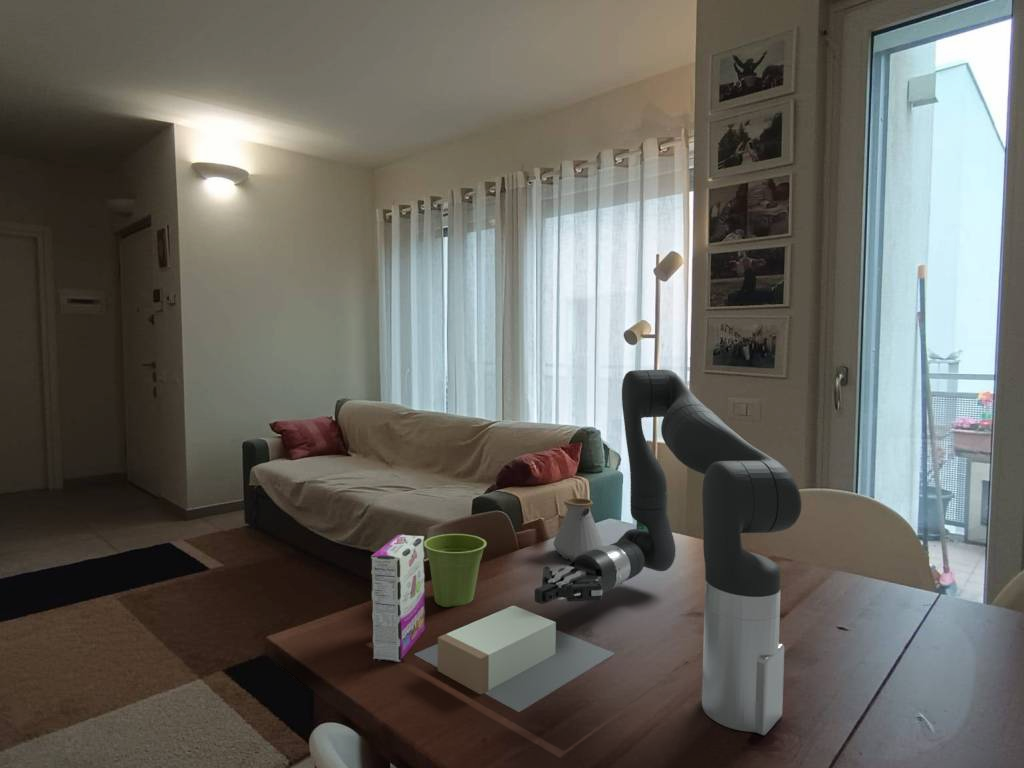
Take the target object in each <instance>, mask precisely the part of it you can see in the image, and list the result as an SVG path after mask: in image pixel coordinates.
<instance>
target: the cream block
mask: <svg viewBox="0 0 1024 768" xmlns="http://www.w3.org/2000/svg"><path fill="white" fill-rule="evenodd" d="M556 627H557V623H556V621H554V620H552V619H548V618H546V617H543V616H541V615H538V614H536V613H534V612H531V611H528V610H526V609H523V608H520V607H519V606H516V605H511V606H508V607H506V608H504V609H501V610H499V611H497V612H495V613H492V614H490V615H488V616H485V617H483V618H480V619H478V620H476V621H473V622H471V623H469V624H466V625H464V626H462V627H459V628H457V629H454V630H452V631H450V632H447V633H445V634H442V635H440V636H437V644H438V668H437V672H439V673H441V674H442V675H444V676H446V677H448V678H450V679H451V680H454V681H455V682H457V683H459V684H461V685H462V686H464V687H465V688H468V689H470V690H471V691H473V692H475V693H476V694H479V695H480V696H481V695H483V694H484V693H485V692H486V691H488V690H490V689H492V688H494V687H496V686H497V685H499V684H501V683H503V682H505V681H507V680H508V679H510V678H512V677H514V676H516V675H518V674H519V673H521V672H523V671H525V670H527V669H529V668H530V667H532V666H534V665H536V664H538V663H540V662H541V661H543V660H545V659H547V658H549V657H551V656H552V655H554V654H555V645H556V630H557V629H556Z"/></svg>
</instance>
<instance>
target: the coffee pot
mask: <svg viewBox="0 0 1024 768" xmlns="http://www.w3.org/2000/svg"><path fill="white" fill-rule="evenodd" d="M563 504H564V505H565V507H566V509H567V511H566V513H565V516H564V518H563V520H562V522H561V525H560V526H559V528H558V531H557V534H556V535H555V538H554V541H553V547H554V549H555V550H556V552H557V553H558V554H560V555H562V556H561V557H562V558H563V557H564V558H563V559H565V558H566V560H568V559H570V560H569V561H572V560H573V559H574V558H575V557H577V556H578V555H581V554H583V553H586V552H589V551H591V550H594V549H596V548H599V547H602V546H604V542H603V540H602V538H601V535H600V533H599V530H598V528H597V525H596V522H595V520H594V517H593V511H592V510H591V506H592V505H593V504H594V501H593V500H592V499H588V498H583V497H582V498H580V497H578V498H577V497H576V498H575V497H573V498H568V499H566V500H564V501H563Z"/></svg>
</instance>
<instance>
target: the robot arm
mask: <svg viewBox="0 0 1024 768" xmlns="http://www.w3.org/2000/svg"><path fill="white" fill-rule="evenodd" d="M621 405H622V406H621V407H622V415H623V422H624V433H625V440H626V441H625V442H626V448H627V455H628V456H627V457H628V463H629V475H630V476H629V477H630V496H629V497H630V505H629V506H630V516H631V518H633V520H635V521H636V522H637V521H638V522H640V523H641V524H643V525H644V526H646V528H647V529H648V531H646V530H642V529H636V528H632V529H629V530H627V531H625V532H624V534H622V536H621V537H620V538H619V539H618V540H617V541H616V542H614V543H611V544H608V545H605V546H604V545H603V546H602V547H599V548H596V549H594V550H591V551H589V552H586V553H583V554H581V555H578V556H577V557H575V558H574V559H573V561H572V560H571V562H570V564H569V565H568V566H567V567H561V568H559V569H558V570H557V571H554V570H553V569H551V567H550V566H547V565H546V566H543V567H542V568H543V569H542V575H541V576H542V577H541V580H542V581H541V586H539V587H536V588H535V589H534V602H535V603H538V604H540V605H545V604H547V603H550V602H553V601H555V600H557V601H558V600H559V601H560V600H564V599H566V602H569V603H570V602H573V603H574V602H586V601H587V602H588V601H589V602H591V601H601V600H603V594H605V593H606V592H609V591H611V590H612V589H615V588H616V587H619V586H620V585H621V584H623V583H624V582H626V581H629V580H631V579H633V578H634V577H636V576H638V575H640V574H641V572H642V571H643V570H644V568H646V569H648V570H649V569H650V570H653V571H656V572H665V571H668V570H669V569H670V568H671V567H672V565H673V564H674V562H675V560H676V559H675V558H676V552H677V551H676V550H677V549H676V544H675V539H674V536H673V531H672V528H671V524H670V521H669V520H670V519H669V517H668V501H667V494H668V491H667V490H668V486H667V485H668V483H667V479H666V478H667V477H666V475H665V471H664V469H663V467H662V465H661V463H660V462H659V460H658V459H657V457H656V455H655V454H654V453H653V451H652V449H651V448H650V445H649V444H648V442H647V440H646V438H645V435H644V430H643V425H642V419H644V418H663V419H662V421H661V426H660V427H661V428H660V431H661V437H662V440H663V441H664V443H665V445H666V446H667V448H668V449H669V451H670V452H671V453H672V454H673V455H674V456H675V457H676V459H677V460H678V461H679V462H680V463H682V464H683V465H685V466H686V467H687V468H689V469H691V470H693V471H694V472H695V471H696V472H697V473H700V474H703V475H704V477H703V481H702V492H701V493H702V499H701V500H702V520H703V521H702V525H703V532H702V533H703V538H702V539H703V540H702V541H703V546H702V547H703V558H704V568H705V569H704V570H705V573H704V574H705V578H704V580H705V581H704V583H705V584H704V606H703V608H704V609H703V611H704V613H703V614H704V616H703V617H704V618H703V620H704V621H703V651H702V652H703V653H702V657H703V658H702V686H701V694H702V695H701V707H702V709H703V712H704V713H705V714H706V715H707V716H708V717H709V718H710V719H712V720H713V721H714V722H716V723H717V724H719V725H722V726H723V727H726V728H729V729H731V730H732V729H733V730H737V731H741V732H752V733H757V734H759V735H761V736H766V735H767V733H769V731H770V730H771V729H772V728H773V727H774V725H775V724H776V723H778V721H779V720H780V719H781V718H782V716H783V705H784V704H783V702H784V701H783V700H784V699H783V698H784V671H785V668H784V667H785V645H784V644H783V643H780V642H779V640H780V616H781V615H780V613H781V611H780V610H781V586H782V575H781V574H782V573H781V569H780V567H779V565H778V564H777V563H776V562H774V561H773V560H771V559H770V558H767V557H765V556H763V555H762V554H758V553H755V552H751V551H749V550H747V549H744V548H743V545H742V534H765V533H766V534H767V533H769V534H770V533H771V534H772V533H776V532H778V533H779V532H782V531H785V530H788V529H790V528H791V527H793V526H794V525H795V524H796V523H797V521H798V519H799V518H800V516H801V512H802V497H801V493H800V489H799V488H798V485H797V483H796V480H795V479H794V477H793V475H792V474H791V473H790V472H789V470H788V469H787V467H785V466H784V465H783V464H782V463H781V462H779V461H777V460H776V459H774V458H772V457H771V456H770V455H768V454H767V453H765V452H763V451H762V450H759V449H758V448H756V447H755V446H754V445H752V444H750V443H749V442H747V441H746V440H745V439H744V438H742V436H740V435H739V434H738V433H736V432H735V431H734V430H733V429H732V428H731V427H729V426H728V425H727V424H725V422H724V421H723V420H722V419H721V418H720V417H719V416H718V415H717V414H715V412H713V411H712V410H711V409H710V408H709V407H707V405H704V403H702V402H701V401H700V399H698V397H696V396H695V395H694V393H692V391H691V390H690V389H689V387H688V386H687V385H686V383H685V381H683V380H682V378H681V377H680V375H678V374H677V373H676V372H675V371H672V370H669V369H642V370H641V369H639V370H638V369H637V370H629V371H628V372H627V373H625V375H624V377H623V379H622V386H621Z"/></svg>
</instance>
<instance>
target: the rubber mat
mask: <svg viewBox="0 0 1024 768" xmlns="http://www.w3.org/2000/svg"><path fill="white" fill-rule="evenodd" d="M615 654H616V653H615V652H613V651H611V650H608V649H605V648H604V647H600V646H598V645H595V644H593V643H592V642H588V641H585V640H583V639H580V638H578V637H575V636H573V635H570V634H568V633H565V632H563V631H561V630H558V629H556V645H555V654H554V655H552V656H551V657H549V658H547V659H545V660H543V661H541V662H540V663H538V664H536V665H534V666H532V667H530V668H529V669H527V670H525V671H523V672H521V673H519V674H518V675H516V676H514V677H512V678H510V679H508V680H507V681H505V682H503V683H501V684H499V685H497V686H496V687H494V688H492V689H490V690H488V691H486V692H485V693H483V694H485V695H486V696H488V697H490V698H491V699H493V700H495V701H497V702H499V703H501V704H503V705H505V706H507V707H508V708H510V709H511V710H514V711H516V712H518V713H520V712H522V711H524V710H525V709H527V708H529V707H530V706H532V705H534V704H535V703H537V702H538V701H540V700H542V699H544V698H545V697H546V696H548V695H551V694H552V693H554V692H555V691H557V690H559V688H562V687H563V686H565V685H566V684H569V683H570V682H571V681H573V680H575V679H576V678H578V677H579V676H581V675H582V674H584V673H586V672H587V671H589V670H591V669H592V668H594V667H596V666H597V665H598V664H600V663H603V662H604V661H605V660H607V659H609V658H611V657H612V656H613V655H615ZM413 656H415V657H417V658H419V659H421V660H422V661H424V662H427V663H428V664H430V665H431V666H433V667H436V668H437V669H438V643H436V644H433V645H432V646H430V647H427V648H424V649H422V650H420V651H418V652H415V653H413Z"/></svg>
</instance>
